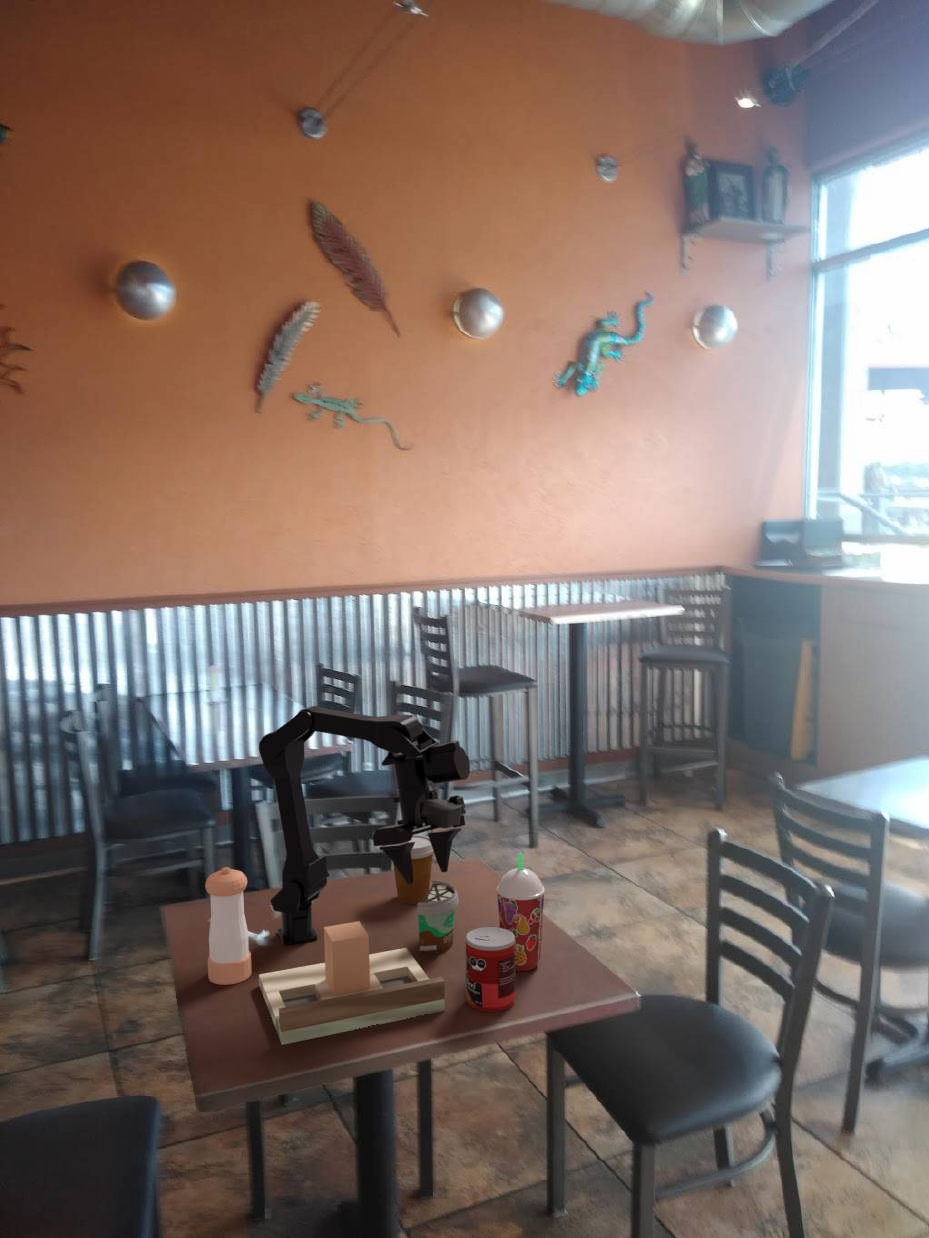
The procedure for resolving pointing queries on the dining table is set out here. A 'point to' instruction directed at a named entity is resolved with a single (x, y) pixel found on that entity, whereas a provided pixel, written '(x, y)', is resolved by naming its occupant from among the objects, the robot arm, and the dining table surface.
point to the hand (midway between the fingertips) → (427, 877)
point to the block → (347, 958)
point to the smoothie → (522, 913)
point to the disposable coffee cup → (416, 872)
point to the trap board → (349, 997)
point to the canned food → (490, 969)
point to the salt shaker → (228, 928)
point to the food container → (437, 918)
